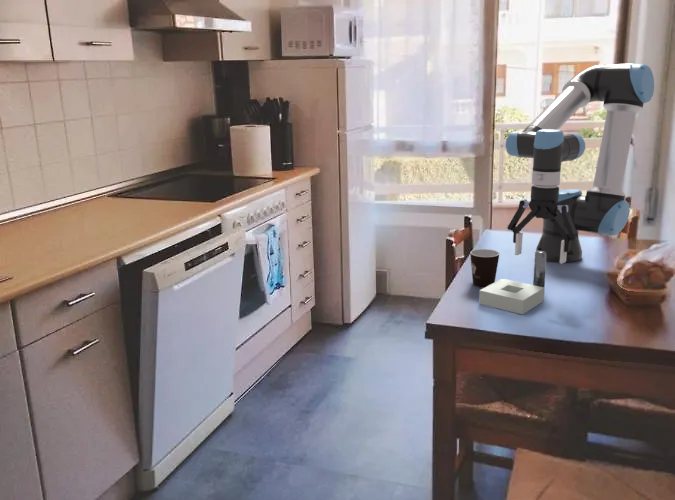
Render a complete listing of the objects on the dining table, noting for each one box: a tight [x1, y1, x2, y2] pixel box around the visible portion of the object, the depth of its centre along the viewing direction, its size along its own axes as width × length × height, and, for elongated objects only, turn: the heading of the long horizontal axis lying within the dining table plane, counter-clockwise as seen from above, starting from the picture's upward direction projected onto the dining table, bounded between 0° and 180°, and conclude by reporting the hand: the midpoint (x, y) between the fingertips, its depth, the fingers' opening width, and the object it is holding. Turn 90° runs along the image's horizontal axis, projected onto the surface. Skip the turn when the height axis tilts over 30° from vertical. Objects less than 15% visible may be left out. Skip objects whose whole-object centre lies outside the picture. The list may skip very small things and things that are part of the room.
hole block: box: [478, 278, 545, 315], centre depth 177 cm, size 13×13×4 cm
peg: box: [532, 250, 547, 288], centre depth 184 cm, size 3×3×12 cm
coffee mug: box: [469, 248, 500, 289], centre depth 193 cm, size 12×9×10 cm
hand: (539, 258), depth 183 cm, fingers open, 13 cm apart
